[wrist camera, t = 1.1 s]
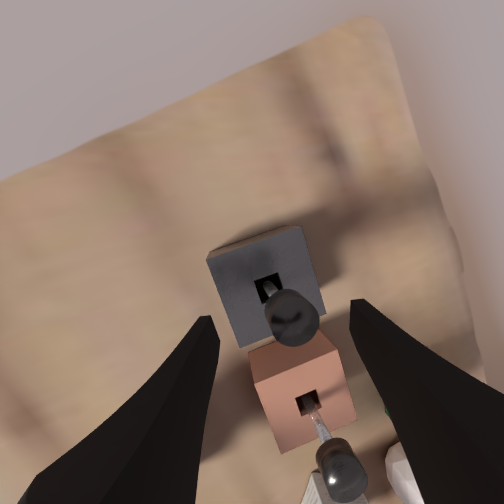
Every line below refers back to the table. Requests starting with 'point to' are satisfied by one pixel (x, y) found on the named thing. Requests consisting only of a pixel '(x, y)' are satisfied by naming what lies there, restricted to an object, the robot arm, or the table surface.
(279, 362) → the pot
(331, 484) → the plunger
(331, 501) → the supplement box
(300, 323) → the plunger
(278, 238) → the pot
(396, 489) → the ornament
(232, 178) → the table surface
